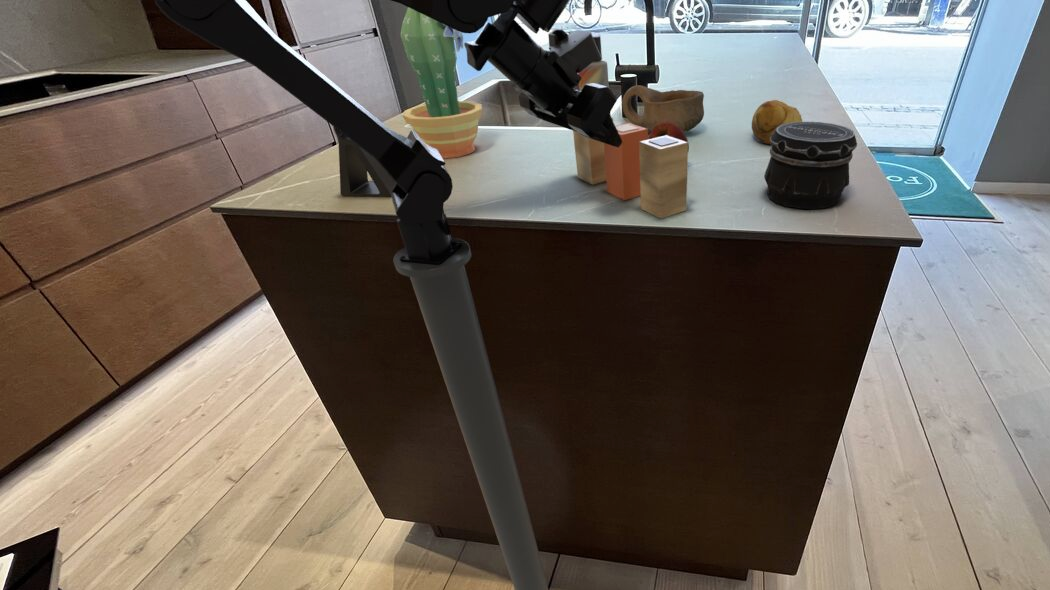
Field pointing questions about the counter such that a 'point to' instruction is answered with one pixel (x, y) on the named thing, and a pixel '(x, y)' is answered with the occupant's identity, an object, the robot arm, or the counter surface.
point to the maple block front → (663, 175)
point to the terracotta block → (625, 162)
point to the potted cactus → (438, 87)
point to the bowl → (665, 107)
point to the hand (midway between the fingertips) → (602, 137)
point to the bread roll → (772, 118)
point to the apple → (668, 131)
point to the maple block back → (590, 159)
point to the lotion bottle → (595, 68)
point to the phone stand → (360, 171)
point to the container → (809, 164)
